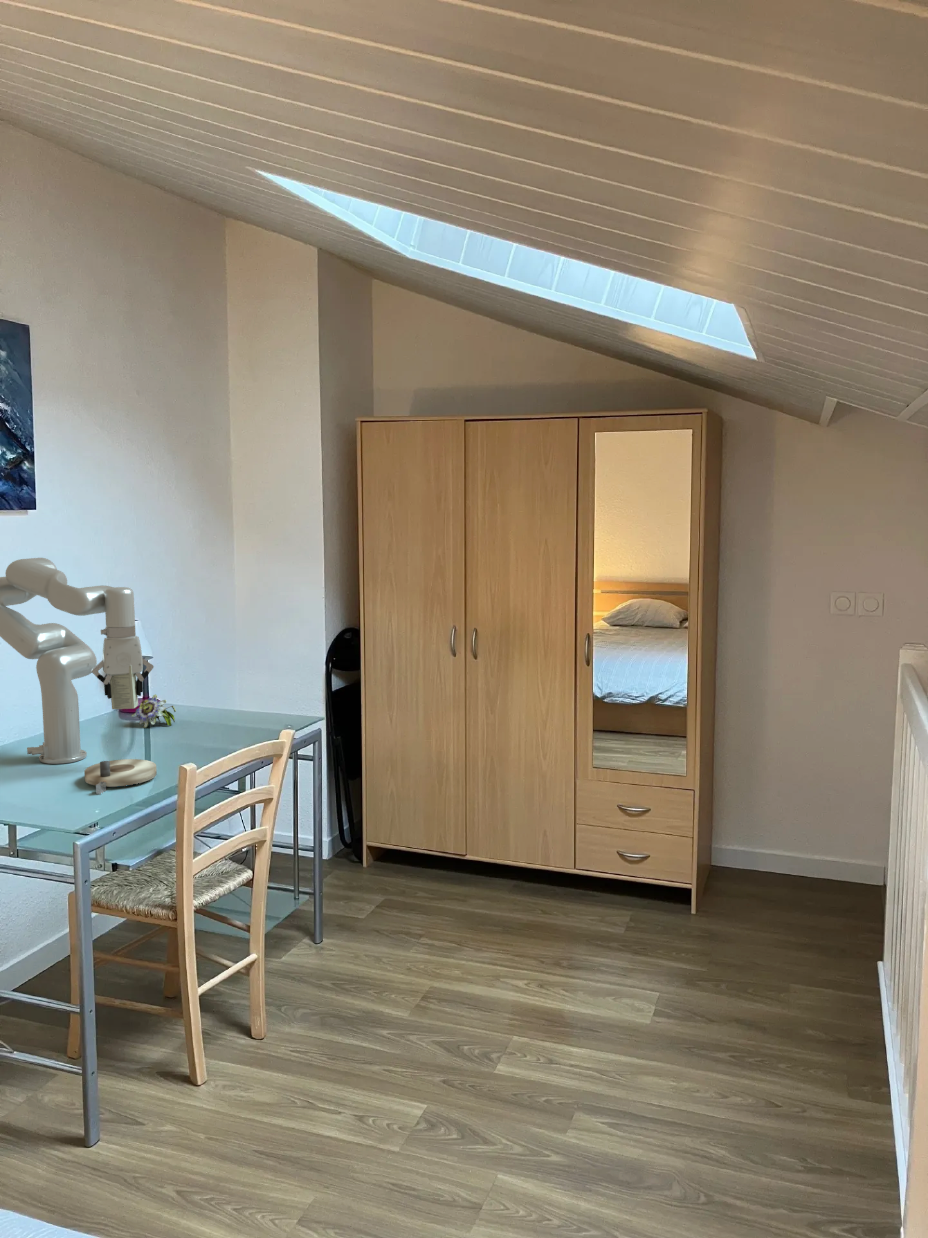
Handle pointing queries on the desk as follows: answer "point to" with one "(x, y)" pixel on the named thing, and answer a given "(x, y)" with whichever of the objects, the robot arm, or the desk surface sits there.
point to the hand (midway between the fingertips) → (124, 696)
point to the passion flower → (153, 712)
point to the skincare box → (124, 691)
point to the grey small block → (101, 787)
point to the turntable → (120, 772)
